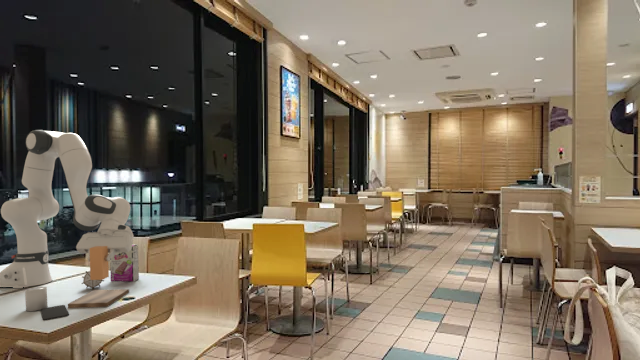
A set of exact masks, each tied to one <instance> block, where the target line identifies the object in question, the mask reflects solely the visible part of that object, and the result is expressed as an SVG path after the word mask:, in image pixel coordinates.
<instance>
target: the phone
mask: <svg viewBox="0 0 640 360" xmlns="http://www.w3.org/2000/svg"><path fill="white" fill-rule="evenodd" d="M40 313H41V317H42V320H43V321H50V320H54V319H60V318H66V317H68V316H70V313H69V311H68V308H67V307H66V305H64V304H62V305H61V304H60V305H55V306H49V307H47V308H44V309H41V310H40Z"/></svg>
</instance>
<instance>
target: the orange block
mask: <svg viewBox="0 0 640 360" xmlns="http://www.w3.org/2000/svg"><path fill="white" fill-rule="evenodd" d="M108 254H109V253H108V249H107V246H95V247H92V248H90V262H89V271H90V280H105V279H107V278H109V275H110V272H109V268H110V267H109V261H105V260H104V258H105V255H108Z"/></svg>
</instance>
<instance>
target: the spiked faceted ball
mask: <svg viewBox="0 0 640 360" xmlns="http://www.w3.org/2000/svg"><path fill="white" fill-rule="evenodd" d="M81 278H83V280H82V282H81V285H83V284H84V285H85V286H86V288H85V289H88V288H90V289H91V288H92V289H91V290H95V288H96V287H101V285H100V284H101V283H102V282H105V279H103V280H90V270H89V271H87V270H86V271H85V273H84V276H82V277H81Z"/></svg>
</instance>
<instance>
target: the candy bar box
mask: <svg viewBox="0 0 640 360" xmlns="http://www.w3.org/2000/svg"><path fill="white" fill-rule="evenodd" d="M109 263H110V267H109V268H110V282H121V283H122V282H129V283H130V282H131V283H132V282H136V281H138V280H139V279H140V276H139V275H140V273H139V244H135V243H133V244H132V248H131V250H130V251H129V252H116V253H115V255H114V256H113V257H111V258H110V261H109Z"/></svg>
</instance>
